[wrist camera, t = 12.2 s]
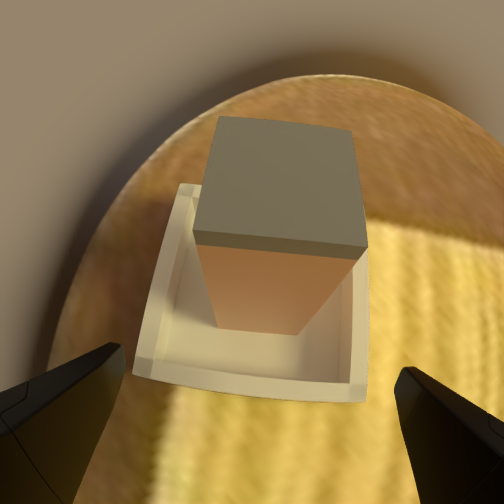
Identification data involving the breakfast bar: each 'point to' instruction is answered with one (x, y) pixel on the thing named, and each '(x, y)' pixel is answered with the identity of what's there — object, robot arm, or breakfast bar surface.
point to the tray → (248, 343)
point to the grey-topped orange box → (277, 222)
